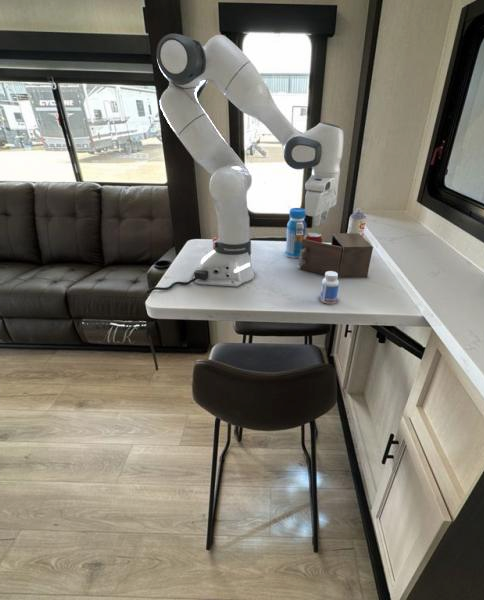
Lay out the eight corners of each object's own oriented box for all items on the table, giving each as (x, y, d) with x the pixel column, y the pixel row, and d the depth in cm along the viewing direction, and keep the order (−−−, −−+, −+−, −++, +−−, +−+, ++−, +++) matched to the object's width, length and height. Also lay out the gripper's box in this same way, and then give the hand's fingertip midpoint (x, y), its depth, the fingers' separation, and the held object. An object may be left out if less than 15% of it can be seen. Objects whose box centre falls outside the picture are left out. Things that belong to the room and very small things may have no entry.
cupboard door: (333, 282, 113) (338, 251, 107) (295, 272, 119) (298, 242, 113) (337, 277, 117) (342, 247, 110) (300, 268, 123) (303, 238, 117)
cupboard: (339, 278, 116) (344, 246, 110) (328, 261, 130) (332, 233, 124) (366, 277, 118) (373, 246, 111) (353, 261, 131) (358, 233, 125)
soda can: (318, 265, 126) (322, 237, 120) (302, 264, 127) (305, 236, 121) (319, 259, 132) (323, 232, 126) (304, 258, 133) (306, 231, 127)
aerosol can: (356, 256, 136) (364, 211, 126) (342, 253, 139) (349, 209, 129) (361, 252, 141) (369, 208, 131) (347, 249, 144) (354, 206, 134)
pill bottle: (339, 300, 102) (343, 274, 97) (330, 306, 98) (333, 279, 94) (326, 294, 105) (329, 268, 100) (316, 299, 102) (319, 273, 97)
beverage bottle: (282, 256, 134) (284, 210, 123) (288, 250, 140) (291, 206, 130) (300, 259, 131) (304, 213, 121) (306, 253, 138) (310, 208, 128)
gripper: (327, 176, 107) (322, 215, 114) (302, 184, 92) (299, 229, 98) (344, 178, 104) (338, 218, 111) (322, 186, 89) (317, 232, 96)
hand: (320, 223), depth 105 cm, fingers open, 3 cm apart
